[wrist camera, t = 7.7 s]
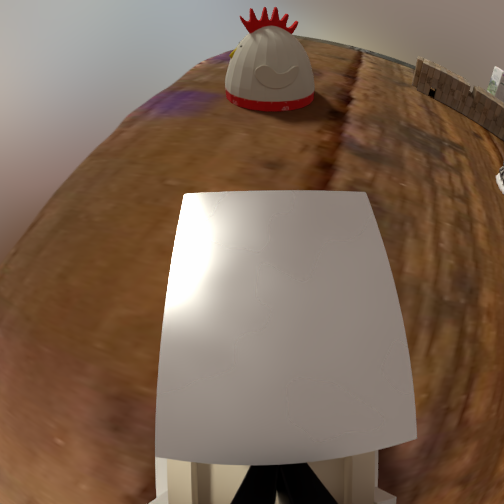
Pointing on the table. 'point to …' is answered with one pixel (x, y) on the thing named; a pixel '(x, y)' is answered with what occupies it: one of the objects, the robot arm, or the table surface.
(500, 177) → the white patterned cylinder
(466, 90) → the block tower
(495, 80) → the syrup box
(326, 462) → the balance beam
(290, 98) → the kitchen timer
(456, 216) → the table surface
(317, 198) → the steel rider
